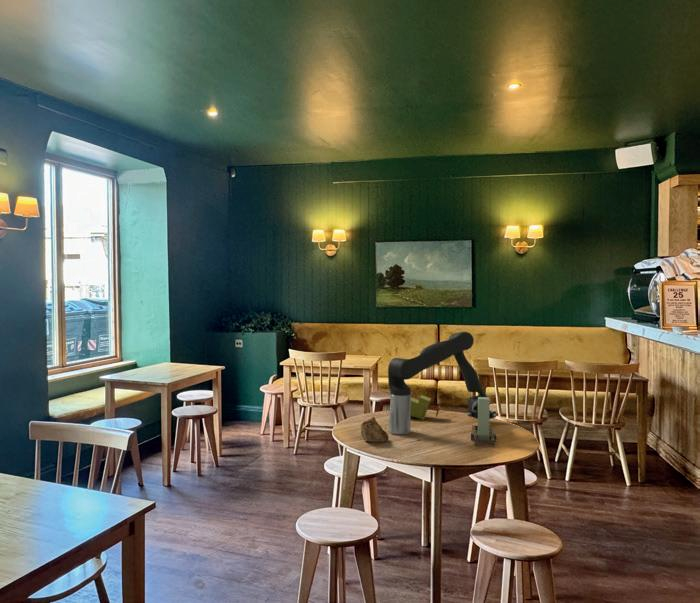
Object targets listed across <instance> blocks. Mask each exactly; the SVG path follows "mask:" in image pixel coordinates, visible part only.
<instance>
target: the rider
mask: <svg viewBox="0 0 700 603" xmlns="http://www.w3.org/2000/svg"><path fill="white" fill-rule="evenodd" d="M489 403H490V404H491V401H490V397H488V396H487V397H478V419H477V426H478V431H477V438H478V439H481V440H490V435H489V426H490V419H489V410H490V406H489Z"/></svg>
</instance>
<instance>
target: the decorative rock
mask: <svg viewBox="0 0 700 603" xmlns="http://www.w3.org/2000/svg"><path fill="white" fill-rule="evenodd" d="M360 429H361V430H360V435H361V437H362V439H363V440H364V441H367V442H371V443H373V442H374V443H375V442H376V443H377V442H378V443H379V442H380V443H381V442H384V441H387V442H388V441H389V437H390V436H389V435H388V433H387V432H386V431H385V430H384V429H383V427H382V426H381V425H380V424H379V423H378V422H377V420H376V418H375V416H372V417H371V418H370V419H367V420H365V421H363V422H362V423H361V424H360ZM384 443H385V442H384Z"/></svg>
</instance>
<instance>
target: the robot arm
mask: <svg viewBox="0 0 700 603" xmlns="http://www.w3.org/2000/svg"><path fill="white" fill-rule="evenodd" d="M473 345H474V336H473V334H471V333H470V332H468V331H460V332H456V333H452V334H451V335H450V336H449V337H448V339H447V340H442V341H438V342H435V343H433V344H430V345H428V346H426V347H425V348H423V349H421V351H420V353H419V355H417V356H415V357H412V358H402V357H401V358H400V357H394V358H392V359H391V360H390V361H389V364H388V366H387V378H388V382H387V383H388V389H389V393H390V394H389V396H390V398H389V399H390V403H389V407H390V408H389V409H388V410H389V411H388V412H389V414H388V416H389V418H388V420H389V422H388V426H389V427H388V428H389V429H388V430H389V432H391V433H390V434H393V435H408V434H411V422H412V420H411V419H412V417H411V398H412V397H411V396H412V389H411V387H410V386H408V385H407V384H406V381H407V380H410V379H412V378H413V377H415V376H417V375H418V374H420V373H421V372H423V371H425V370H426V369H429V368H431V367H433V366H436V365H438V364H440V363H442V362H443V361H446V360H447V359H449V358H451V357H452V356H453V357H454V359H455V361H456V363H457V365H458V367H459V369H460V371H461V374H462V376H463V377H462V378H463V380H464V383H465V387H466V390H467V392H469V393H478V395H475V396H471V397H469V398H468V399H467V406H468V408H469V409H468V410H467V416H468V417H470V418H473V419H476V420H478V397H488V396H487V394H486V393H485V391H484V389H483V386H482V385H481V382H480V378H479V375H478V372H477V371H476V369H475V368H474V367H473V365H472V364H471V363H470V362H469V361H468V359H467V358H466V356H465V352H464V351H468V350H469V349H471V348H472V347H473ZM405 380H406V381H405ZM490 404H491V402H490V403H489V407H490V406H491V405H490ZM494 418H497V411H495V410H494V411H491V410H490V409H489V420H491V419H494Z"/></svg>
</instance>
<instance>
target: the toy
mask: <svg viewBox="0 0 700 603" xmlns="http://www.w3.org/2000/svg"><path fill="white" fill-rule="evenodd" d="M431 399H432V398H430V397H428V396H425V395H422V394H421V395H420V396H419V399H416V398H414V397H411V418H417V419H419V420H423V421H424V420H425V417H426V416H427V415H426V414H427V411H428V409H430V410H433V411H436V414H435V417H438V415H439V412H440V408H441V405H438V406H436V405H435V404H434V405H433V404H431V403H430V402H431Z"/></svg>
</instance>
